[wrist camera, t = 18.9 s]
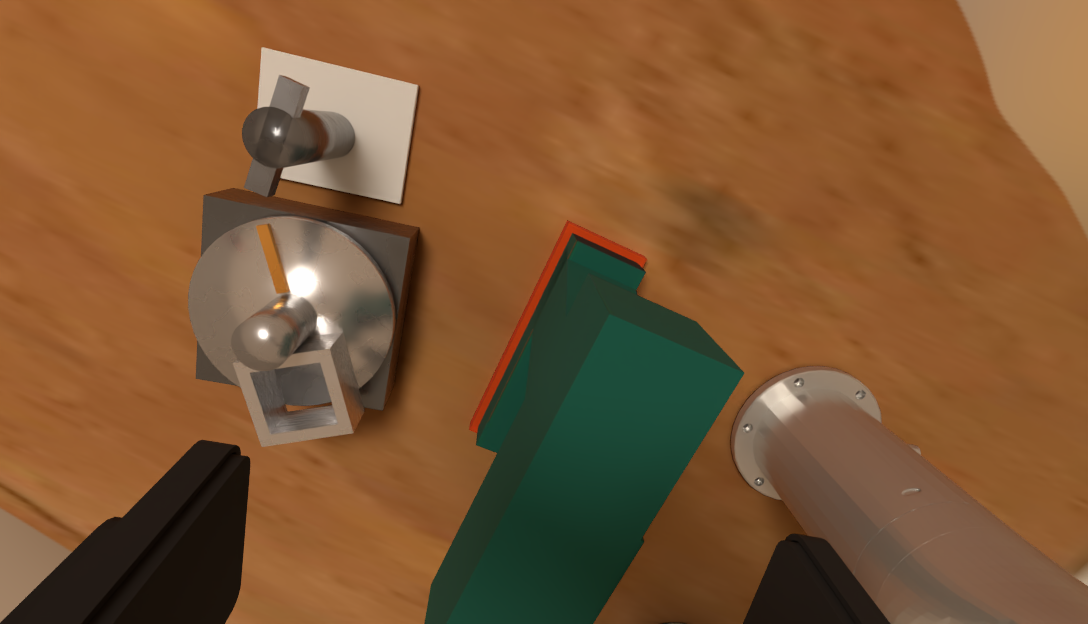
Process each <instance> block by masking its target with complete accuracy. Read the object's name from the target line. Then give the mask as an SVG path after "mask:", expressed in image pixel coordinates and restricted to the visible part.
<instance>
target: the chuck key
mask: <svg viewBox="0 0 1088 624" xmlns="http://www.w3.org/2000/svg"><path fill="white" fill-rule="evenodd" d="M309 89H310V87H308V86H306V85H304V84H302V83H299V82H297V81H295V80H293V79H291V78H289V77H287V76H282V75H279V77H278V80H277V83H276V87H275V90H274V93H273V96H272V99H271V103H270V106H269V107H261V108H258V109H256V110H254V111H253V112H251V113H250V114H249V115H248V117H247V118H246V120H245V122H244V124H243V128H242V138H243V142H244V145H245V147H246V149H247V151H248V153H249V154H250V155H251V156H252V157H253V160H252V163H251V167H250V170H249V173H248V176H247V180H246V183H245V186H244V188H246V189H249V190H251V191H253V192H256V193H258V194H260V195H263V196H265V197H270V196H273V195H275V192H276V189H277V186H278V183H279V180H280V177H281V174H282V171H283V168H285V167H290V166H296V165H301V164H307V163H312V162H318V161H324V160H329V159H335V158H340V157H343V156H345V155H347V154H348V153H349V152H350V151H351V150H352V148H353V146H354V143H355V132H354V129H353V127H352V125H351V123H350V122H349V120H348V119H347V118H345V117H344V116H343V115H341V114H339V113H336V112H330V111H317V110H305V109H303V107H304V104H305V101H306V98H307V95H308V92H309Z"/></svg>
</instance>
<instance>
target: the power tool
mask: <svg viewBox="0 0 1088 624" xmlns="http://www.w3.org/2000/svg"><path fill="white" fill-rule="evenodd" d="M646 261H647V259H646V258H645V257H644V256H643V255H641V254H638V253H636V252H634V251H632V250H630V249H628V248H626V247H623V246H621V245H619V244H617V243H615V242H613V241H611V240H608V239H606V238H604V237H602V236H600V235H598V234H596V233H593V232H591V231H589V230H587V229H585V228H583V227H580V226H578V225H576V224H574V223H572V222H570V221H568V220H567V222H566V224H565V226H564V229H563V231H562V233H561V235H560V237H559V239H558V241H557V243H556V245H555V247H554V249H553V251H552V254H551V256H550V258H549V260H548V262H547V264H546V266H545V268H544V270H543V272H542V274H541V276H540V279H539V281H538V283H537V285H536V287H535V289H534V291H533V293H532V295H531V297H530V299H529V301H528V304H527V306H526V308H525V310H524V312H523V314H522V316H521V318H520V320H519V322H518V324H517V326H516V329H515V331H514V333H513V335H512V337H511V339H510V341H509V343H508V345H507V347H506V349H505V351H504V354H503V356H502V358H501V360H500V362H499V364H498V366H497V368H496V370H495V372H494V374H493V376H492V379H491V381H490V383H489V385H488V387H487V389H486V391H485V393H484V395H483V397H482V399H481V401H480V404H479V406H478V408H477V410H476V412H475V414H474V416H473V418H472V420H471V422H470V427H469V430H471V431H473V432H476V433H477V441H476V445H477V446H480V447H483V448H485V449H488V450H491V451H493V452H496V453H497V455H496V457H495V459H494V461H493V463H492V465H491V467H490V469H489V471H488V473H487V475H486V477H485V479H484V481H483V483H482V485H481V487H480V489H479V491H478V493H477V495H476V497H475V499H474V501H473V503H472V505H471V507H470V509H469V511H468V513H467V515H466V517H465V519H464V521H463V522H462V524H461V526H460V528H459V530H458V532H457V534H456V536H455V538H454V540H453V542H452V544H451V546H450V548H449V550H448V552H447V554H446V556H445V558H444V560H443V562H442V564H441V566H440V568H439V570H438V572H437V574H436V576H435V578H434V580H433V582H432V584H431V589H430V595H429V600H428V606H427V612H426V618H425V624H593V623H594V621H595V620H596V618H597V617H598V615H599V613H600V612H601V610H602V609H603V607H604V605H605V604H606V602H607V601H608V599H609V597H610V596H611V594H612V593H613V591H614V589H615V588H616V586H617V585H618V583H619V581H620V580H621V578H622V577H623V575H624V573H625V572H626V570H627V569H628V567H629V565H630V564H631V562H632V561H633V559H634V557H635V556H636V554H637V553H638V551H639V549H640V548H641V546H642V545H643V543H644V539H643V536H644V534H645V532H646V531H647V529H648V527H649V526H650V524H651V523H652V521H653V519H654V518H655V516H656V515H657V513H658V511H659V510H660V508H661V507H662V505H663V503H664V502H665V500H666V498H667V497H668V495H669V494H670V492H671V490H672V489H673V487H674V486H675V484H676V482H677V481H678V479H679V478H680V476H681V474H682V473H683V471H684V469H685V468H686V466H687V465H688V463H689V461H690V460H691V458H692V457H693V455H694V453H695V452H696V450H697V449H698V447H699V445H700V444H701V442H702V440H703V439H704V437H705V436H706V434H707V432H708V431H709V429H710V428H711V426H712V424H713V423H714V421H715V420H716V418H717V416H718V415H719V413H720V412H721V410H722V408H723V407H724V405H725V403H726V402H727V400H728V399H729V397H730V395H731V394H732V392H733V391H734V389H735V387H736V386H737V384H738V383H739V381H740V379H741V378H742V376H743V374H744V372H743V371H742V370H741V369H740V368H739V367H738V366H737V365H736V363H735V362H734V361H733V360H732V359H731V358H730V357H729V356H728V355H727V354H726V353H725V352H724V351H723V350H722V349H721V347H720V346H719V345H718V344H717V343H716V342H715V341H714V340H713V339H712V338H711V337H710V336H709V335H708V334H707V333H706V331H705V330H704V329H703V328H702V327H701V326H700V325H699V324H698V323H697V322H696V321H693V320H691V319H689V318H687V317H685V316H682V315H680V314H678V313H676V312H673V311H671V310H669V309H667V308H665V307H662V306H660V305H658V304H656V303H653V302H651V301H649V300H647V299H645V298H642V297H640V296H638V295H637V291H636V290H637V288H638V286H639V284H640V282H641V280H642V278H643V277H644V275H645V273H646V272H645V271H644V269H643V267H644V265H645V263H646Z"/></svg>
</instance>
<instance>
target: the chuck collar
mask: <svg viewBox="0 0 1088 624" xmlns="http://www.w3.org/2000/svg"><path fill="white" fill-rule="evenodd" d="M188 308H189V315H190V321H191V324H192V328H193V331H194V334H195V336H196V338H197V340H198V343H199V345H200V346H201V348H202V350H203V351H204V353H205V355H206V356H207V357H208V359H209V360H210V361H211V362H212V364H213V365H214V366H215V367H216V368H217V369H218V370H219V371H220V372H221V373H222V374H223V375H224V376H225V377H227V378H228V379H229V380H230V381H231V382H233V383H234V384H236V385H237V386H239V387H240V388H241V389H242V392H243V394H244V397H245V400H246V403H247V406H248V409H249V412H250V415H251V417H252V420H253V423H254V426H255V429H256V432H257V435H258V438H259V440H260V443H261V446H262V447H265V446H272V445H278V444H285V443H291V442H298V441H305V440H311V439H318V438H325V437H331V436H338V435H345V434H351V433H354V431H355V429H356V427H357V425H358V423H359V421H360V419H361V417H362V415H363V413H364V411H365V410H364V406H363V402H362V399H361V395H360V391H359V388H360V387H362V386H363V385H364V384H365V383H366V382H367V381H368V380H370V379H371V377H372V376H373V375H374V374H375V373H376V372H377V370H378V369H379V367H380V366H381V364H382V362H383V361H384V359H385V357H386V355H387V353H388V351H389V348H390V346H391V343H392V340H393V336H394V331H395V322H396V321H395V306H394V300H393V296H392V292H391V289H390V286H389V284H388V282H387V280H386V277H385V275H384V273H383V272H382V270H381V269H380V267H379V265H378V264H377V263H376V261H375V260H374V259H373V258H372V256H371V255H370V254H369V253H368V252H367V251H366V250H365V249H364V248H363V247H362V246H361V245H360V244H359V243H358V242H356V241H355V240H354V239H352V238H351V237H350V236H348V235H347V234H345V233H343V232H342V231H340V230H338V229H336V228H334V227H332V226H330V225H327V224H325V223H322V222H319V221H316V220H313V219H309V218H303V217H297V216H272V217H266V218H261V219H257V220H254V221H251V222H248V223H246V224H243V225H240V226H238V227H236V228H234V229H232V230H230V231H228V232H226V233H225V234H223V235H222V236H221V237H219V238H218V239H217V240H215V241H214V242H213V243H212V244H211V245H210V246H209V247H208V249H207V250H206V251H205V252H204V254H203V255H202V257H201V258H200V259H199V261H198V263H197V265H196V267H195V269H194V272H193V275H192V278H191V281H190V287H189V294H188ZM328 402H332V405H330V406H323V407H317V408H310V409H303V410H297V411H290V412H288V411H287V408H286V405H285V404H287V405H298V406H308V405H319V404H324V403H328Z"/></svg>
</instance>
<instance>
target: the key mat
mask: <svg viewBox="0 0 1088 624" xmlns="http://www.w3.org/2000/svg"><path fill="white" fill-rule="evenodd" d="M279 75H282V76H287V77H289V78H291V79H293V80H295V81H297V82H299V83H302V84H304V85H306V86H308V87H310V89H309V92H308V95H307V98H306V101H305V104H304V107H303V109H305V110H317V111H330V112H336V113H339V114H341V115H343V116H344V117H345V118H347V119H348V120H349V122H350V123H351V125H352V127H353V129H354V132H355V143H354V146H353V148H352V150H351V151H350V152H349V153H348V154H347V155H345V156H343V157H340V158H335V159H329V160H324V161H318V162H312V163H307V164H301V165H296V166H290V167H285V168H283V171H282V174H281V177H280V178H283V179H288V180H292V181H297V182H301V183H306V184H311V185H315V186H320V187H324V188H329V189H334V190H338V191H343V192H347V193H352V194H357V195H361V196H366V197H371V198H375V199H380V200H384V201H389V202H394V203H398V204H401V203H402V197H403V190H404V183H405V177H406V170H407V163H408V157H409V150H410V143H411V137H412V130H413V123H414V116H415V110H416V103H417V96H418V90H419V86H418V85H415V84H411V83H407V82H403V81H398V80H394V79H390V78H386V77H382V76H378V75H374V74H370V73H366V72H362V71H357V70H353V69H349V68H345V67H341V66H337V65H333V64H329V63H325V62H321V61H316V60H312V59H308V58H304V57H300V56H296V55H292V54H288V53H284V52H280V51H275V50H271V49H267V48H263V47H262V52H261V66H260V81H259V95H258V108H261V107H269V106H270V103H271V99H272V96H273V93H274V90H275V87H276V83H277V80H278V77H279Z"/></svg>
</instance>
